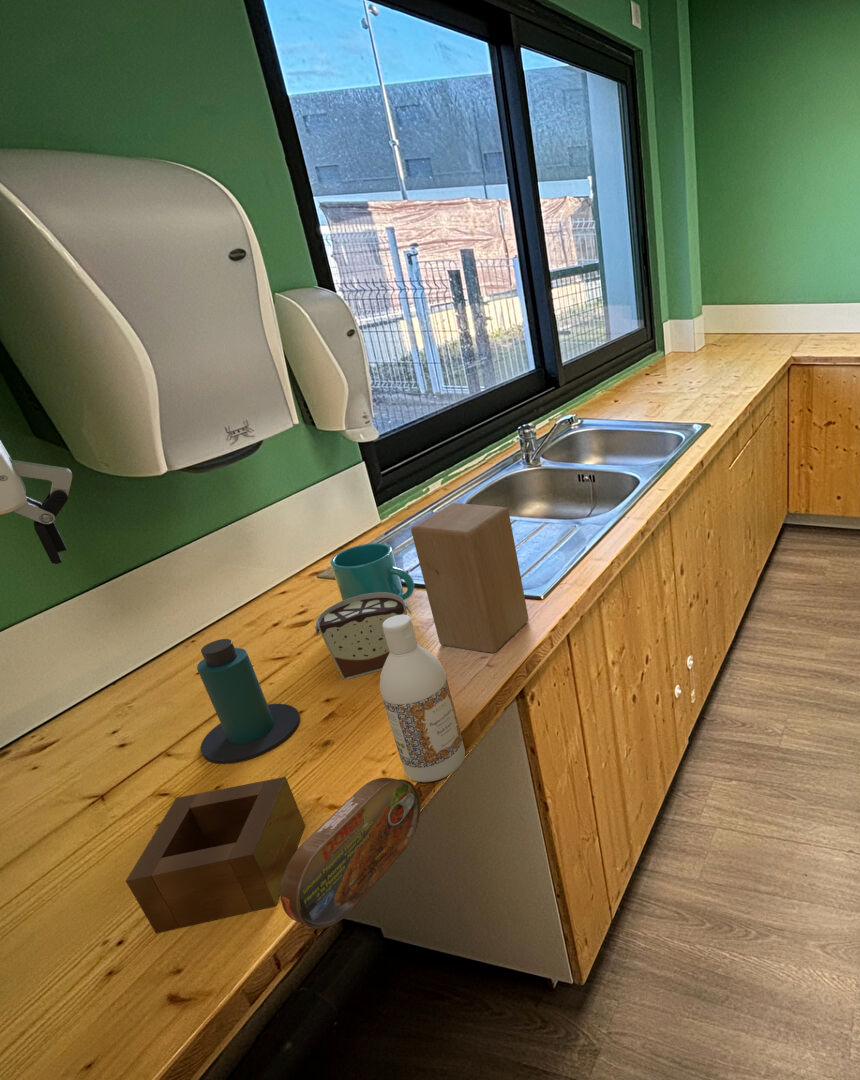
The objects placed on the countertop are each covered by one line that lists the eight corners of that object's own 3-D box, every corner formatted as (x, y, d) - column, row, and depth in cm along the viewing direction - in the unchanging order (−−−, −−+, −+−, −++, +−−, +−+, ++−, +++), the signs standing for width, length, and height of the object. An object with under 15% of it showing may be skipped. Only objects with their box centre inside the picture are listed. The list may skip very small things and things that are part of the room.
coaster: (186, 772, 84) (184, 768, 84) (221, 715, 94) (220, 712, 94) (286, 753, 87) (284, 750, 86) (310, 700, 96) (309, 697, 96)
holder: (155, 933, 65) (125, 881, 62) (200, 847, 74) (175, 797, 71) (276, 906, 67) (252, 854, 64) (305, 825, 76) (285, 776, 73)
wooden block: (438, 645, 107) (408, 527, 99) (477, 613, 116) (453, 501, 108) (494, 654, 104) (468, 533, 96) (530, 620, 113) (509, 506, 105)
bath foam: (433, 792, 80) (390, 644, 71) (392, 773, 83) (347, 629, 74) (478, 754, 85) (444, 612, 77) (438, 737, 88) (401, 599, 80)
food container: (420, 639, 109) (405, 583, 105) (423, 659, 104) (408, 600, 100) (333, 661, 105) (313, 603, 101) (331, 683, 100) (311, 623, 95)
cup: (407, 630, 112) (391, 568, 107) (337, 629, 113) (318, 567, 108) (433, 601, 120) (419, 542, 115) (368, 601, 121) (351, 542, 117)
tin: (317, 950, 63) (288, 884, 59) (291, 940, 64) (261, 875, 60) (430, 823, 76) (412, 763, 72) (406, 816, 76) (388, 757, 73)
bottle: (221, 748, 87) (183, 661, 82) (236, 721, 92) (201, 638, 86) (267, 739, 88) (232, 653, 83) (279, 714, 93) (247, 631, 87)
